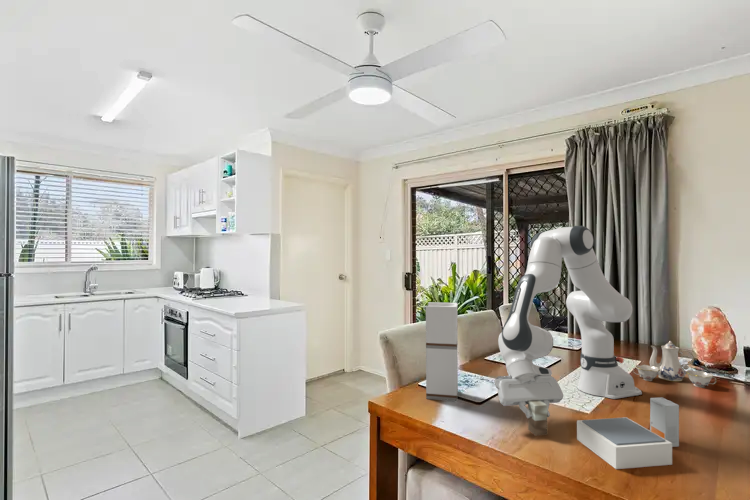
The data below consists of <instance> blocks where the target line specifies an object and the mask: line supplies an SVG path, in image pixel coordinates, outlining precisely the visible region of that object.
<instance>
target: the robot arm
mask: <svg viewBox="0 0 750 500" xmlns="http://www.w3.org/2000/svg"><path fill="white" fill-rule="evenodd" d="M594 241H595V239H594V236H593V232H592V230H591V229H589V228H588V227H586V226H585V225H573V226H565V227H557V228H554V229H549V230H546V231H540V232H538V233H536V234H534V235H533V237H532V238H531V240H530V252H529V254H528V258H527V259H528V261H527V266H526V270H525V273H524V275H522V276H521V277H520V279H519V280H518V283H517V285H516V289H515V291H514V296H513V298H512V303H511V306H510V310H509V314H508V316H507V319H506V321H505V323H504V324H503V326H502V329H501V332H500V333H499V335H498V341H497V343H498V349H499V351H500V354H501V358H502V360H503V362H504V363H505V369H506V371H507V374H508V375H503V376H502V375H499V376H497V377H496V378H494V385H495V388H496V389H497V394H498V399H499V403H500V404H501V405H503V407H506V406H518V407H519V409H520V410H521V412H523V413H524V415H525V417H526V418H527V419H528V418H532V417H533V414H532V411H529V410H528V407H526V405H527V406H528V401H538V400H541V401H542V402H543V403H545V404H546V405H547V418H549V417H550V415H551V413H550V411H549V407H550V404H558V403H560V402H561V401H562V400H563V398H564V393H563V390H562V388H561V386H560V384H559V383H558V381H557V379H556V378H555V377H554V376H552V374H553V372H552V370H551V369H550V368H548V367H544V366H539V365H537V364H534V363H533V361H534V360H539V359H541V358H544V357H546V356H548V355H549V354H550V353H551V352H552V350H553V348H554V338H553V335H552V334H551V333H550V331H549V330H546V329H544V328H542V327H539V326H537V325H534V324H532V323H531V322H530V319H529V317H530V312H531V309H532V306H533V305H532V304H533V301H534V298H535V297H536V295H538V294H540V293H547V292H551V291H552V290H554V289H555V288H557V286H558V285H559V284H560V280H561V277H562V276H561V274H562V267H563V263H562V262H563V261H564V264H565V267H566V269H567V272H568V274H569V278H570V280H571V282H572V284H573V285H574V287H575V288H577V289H578V290H574V291H571V292H570V293H569V294H568V296H567V298H566V301H565V306H566V309H567V310H568V311H569V312H570V313H571V315H572V316H573V318H574V319H575V321H576V323H577V325H578V327H579V332H580V338H581V352H580V358H579V359H580V360H579V361H580V375H579V380H578V383H577V389H578V390H579V391H581V392H583V393H585V394H588V395H592V396H597V397H604V398H608V399H611V400H616V399H621V398H622V399H623V398H627V397H634V396H639V395H643V393H642V390H641V389H639V388H638V387H637V386H635V380H634V378H633V376H632V374H630V373H629V372H627V371H626V370H625V369H623V368H622V366H619V363H620V364H623V363H624V362H625V359H624V358H623V357H620V356H616V355H615V353H614V352H615V351H614V346H615V345H614V344H615V343H614V339H615V338H614V336H613V334H612V333H611V332H610V331H609V330H608V329H607V328H606V327H605V325H604V323H603V322H607V323H625V322H628V320H629V319H630V318H631V316H632V314H633V305H632V302H631V300H629V298H627V297H626V296H624V295H623V294H621V293H620V292H618V290H616V289H615V288H614V287H613V286H612V285H611V283H610V282H609V281H608V280H607V278H606V276H605V275H604V273H603V271H602V268H601V266H600V264H599V263H600V262H599V260H598V257H597V255H596V253H595V250H594V248H593V247H594Z"/></svg>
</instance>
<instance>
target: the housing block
mask: <svg viewBox="0 0 750 500" xmlns="http://www.w3.org/2000/svg"><path fill="white" fill-rule="evenodd" d="M527 409H528V410H529V411H532V414H533V417H532V418H527V419H528V421H527V424H528V427H527V430H528V431H529V432H530V433H531V434H533V435H534V436H546V435H548V417H547V405H546V404H545V403H543V402H542V401H541V400H538V401H528V404H527Z"/></svg>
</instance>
